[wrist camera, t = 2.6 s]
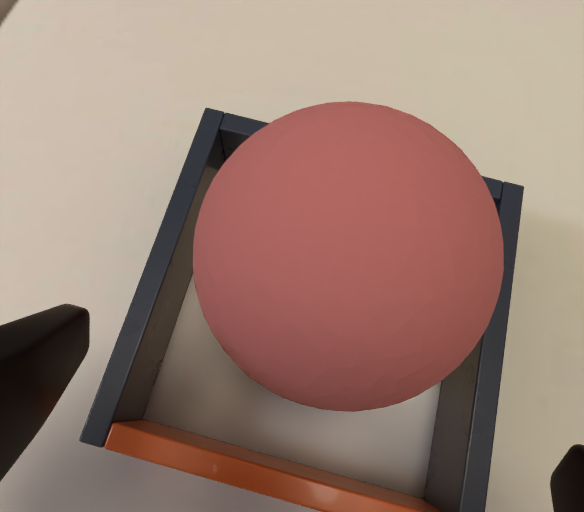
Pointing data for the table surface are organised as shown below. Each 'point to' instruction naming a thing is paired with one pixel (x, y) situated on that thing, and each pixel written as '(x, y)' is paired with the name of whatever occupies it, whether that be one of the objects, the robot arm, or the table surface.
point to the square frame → (257, 466)
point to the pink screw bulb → (348, 256)
